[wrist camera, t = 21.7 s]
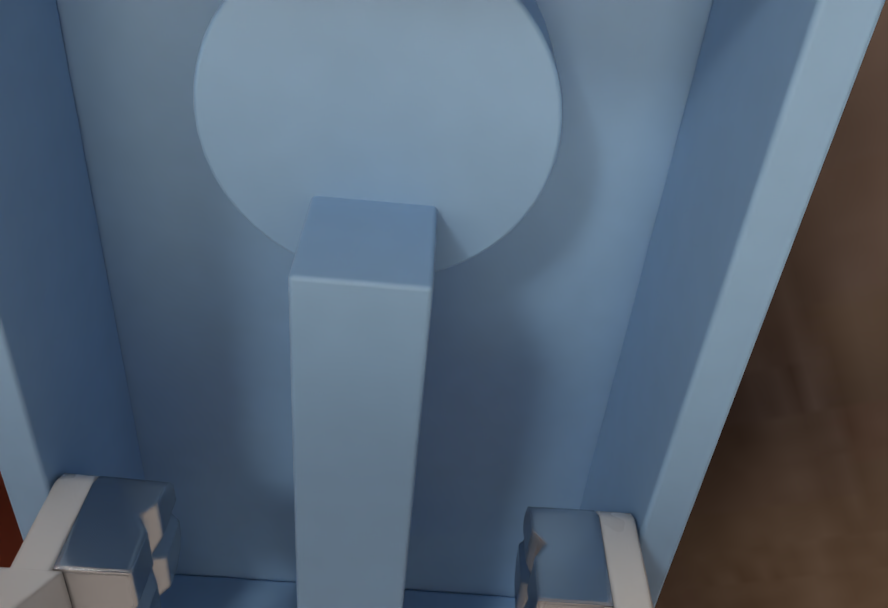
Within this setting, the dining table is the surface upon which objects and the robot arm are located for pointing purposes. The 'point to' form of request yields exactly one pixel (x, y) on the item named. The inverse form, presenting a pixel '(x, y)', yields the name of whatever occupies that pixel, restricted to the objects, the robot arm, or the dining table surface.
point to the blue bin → (454, 295)
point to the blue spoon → (371, 225)
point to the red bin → (8, 529)
